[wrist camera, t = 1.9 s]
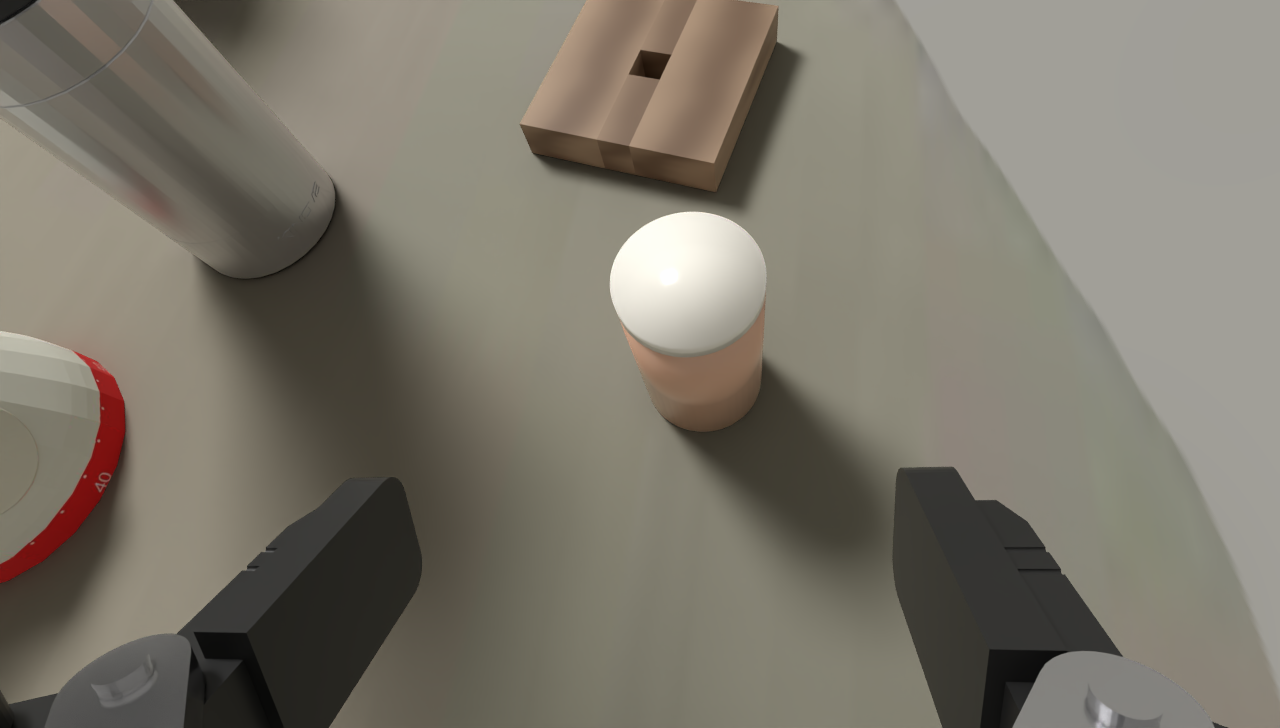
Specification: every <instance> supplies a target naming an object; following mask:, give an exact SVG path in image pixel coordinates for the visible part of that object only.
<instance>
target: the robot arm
mask: <svg viewBox="0 0 1280 728" xmlns="http://www.w3.org/2000/svg"><path fill="white" fill-rule="evenodd" d="M0 118H1V119H2V120H4V121H5V122H6V123H8V124H9V125H11V126H12V127H14V128H15V129H16V130H18V131H19V132H21V133H22V134H23V135H25V136H26V137H28V138H29V139H31V140H32V141H33V142H35V143H36V144H38V145H39V146H40V147H42V148H43V149H45V150H46V151H48V152H49V153H50V154H52V155H53V156H55V157H56V158H57V159H59V160H60V161H62V162H63V163H65V164H66V165H67V166H69V167H70V168H72V169H73V170H75V171H76V172H77V173H79V174H80V175H82V176H83V177H84V178H86V179H87V180H89V181H90V182H92V183H93V184H94V185H96V186H97V187H99V188H100V189H101V190H103V191H104V192H106V193H107V194H109V195H110V196H111V197H113V198H114V199H116V200H117V201H118V202H120V203H121V204H123V205H124V206H126V207H127V208H128V209H130V210H131V211H133V212H134V213H135V214H137V215H138V216H140V217H141V218H143V219H144V220H145V221H147V222H148V223H150V224H151V225H153V226H154V227H155V228H157V229H158V230H160V231H161V232H162V233H164V234H165V235H166V236H168V237H169V238H170V239H172V240H173V241H175V242H176V243H178V244H179V245H181V246H182V247H183V248H185V249H186V250H188V251H189V252H191V253H192V254H193V255H195V256H196V257H198V258H199V259H201V260H202V261H204V262H205V263H206V264H208V265H209V266H211V267H212V268H214V269H215V270H217V271H218V272H219V273H221V274H224V275H227V276H230V277H233V278H243V279H248V278H256V277H262V276H266V275H269V274H272V273H275V272H277V271H279V270H281V269H283V268H285V267H287V266H289V265H291V264H293V263H294V262H295V261H297V260H298V259H300V258H301V257H302V256H304V255H305V254H306V253H307V252H308V251H309V250H310V249H311V248H312V247H313V246H314V245H315V244H316V243H317V241H318V240H319V239H320V237H321V236H322V235H323V233H324V232H325V230H326V228H327V226H328V224H329V222H330V220H331V218H332V214H333V211H334V207H335V190H334V186H333V182H332V181H331V179H330V177H329V175H328V174H327V172H326V171H325V170H324V169H323V168H322V167H321V166H320V165H319V164H318V162H317V161H316V160H315V159H314V158H313V157H312V156H311V155H310V153H309V152H308V151H307V150H306V149H305V148H304V147H303V146H302V144H301V143H300V142H299V141H298V140H297V139H296V138H295V137H294V135H293V134H292V133H291V132H290V131H289V129H288V128H287V127H286V126H285V125H284V124H283V123H282V122H281V121H280V119H279V118H278V117H277V116H276V115H275V114H274V113H273V112H272V110H271V109H270V108H269V107H268V106H267V105H266V104H265V103H264V101H263V100H262V99H261V98H260V97H259V96H258V95H257V94H256V92H255V91H254V90H253V89H252V88H251V87H250V86H249V85H248V83H247V82H246V81H245V80H244V79H243V78H242V77H241V76H240V75H239V73H238V72H237V71H236V70H235V69H234V68H233V67H232V66H231V64H230V63H229V62H228V61H227V60H226V59H225V58H224V57H223V55H222V54H221V53H220V52H219V51H218V50H217V49H216V48H215V46H214V45H213V44H212V43H211V42H210V41H209V40H208V39H207V38H206V36H205V35H204V34H203V33H202V32H201V31H200V30H199V29H198V27H197V26H196V25H195V24H194V23H193V22H192V21H191V20H190V18H189V17H188V16H187V15H186V14H185V13H184V12H183V11H182V9H181V8H180V7H179V6H178V5H177V4H176V3H175V2H174V0H0ZM421 571H422V557H421V551H420V547H419V544H418V540H417V536H416V532H415V528H414V525H413V521H412V517H411V513H410V509H409V505H408V502H407V498H406V494H405V491H404V487H403V485H402V484H401V482H400V481H399V480H398V479H397V478H394V477H377V478H350V479H348V480H346V481H345V482H344V483H343V484H342V485H341V486H340V487H339V488H338V489H337V490H336V491H335V492H334V493H333V494H332V495H331V496H330V497H329V498H328V499H327V500H326V501H325V502H324V503H323V504H322V505H321V506H320V507H319V508H317V509H316V510H314V511H313V512H311V513H309V514H308V515H306V516H304V517H303V518H301V519H299V520H298V521H296V522H295V523H293V524H291V525H290V526H288V527H287V528H286V529H285V530H284V531H283V532H282V533H281V534H280V535H279V536H278V537H277V538H276V539H274V540H273V541H272V542H271V543H270V544H269V545H268V546H267V547H266V551H265V552H261V553H260V554H259V555H258V556H257V557H256V558H255V559H254V560H253V561H252V562H251V563H250V564H249V565H248V566H247V570H246V571H241V572H240V573H239V574H238V575H237V576H236V577H235V578H234V579H233V580H232V581H231V582H230V583H229V584H228V585H227V586H226V587H225V588H224V589H223V590H222V591H221V592H220V593H219V594H218V595H216V596H215V597H214V598H213V599H212V600H211V601H210V602H209V603H208V604H207V605H206V606H205V607H204V608H203V609H202V610H201V611H200V612H199V613H198V614H197V615H196V616H195V617H194V618H193V619H192V620H191V621H190V622H188V623H187V624H186V625H185V626H184V627H183V628H182V629H181V630H180V631H179V632H178V633H177V634H158V635H152V636H148V637H144V638H141V639H138V640H135V641H132V642H129V643H127V644H124V645H122V646H120V647H118V648H116V649H114V650H112V651H110V652H108V653H106V654H104V655H103V656H101V657H99V658H97V659H96V660H94V661H93V662H91V663H90V664H88V665H87V666H86V667H84V668H83V669H82V670H81V671H79V672H78V673H77V674H76V675H75V676H74V677H72V678H71V679H70V680H69V681H68V682H67V683H66V684H65V686H64V687H63V688H62V689H61V690H60V692H59V693H57V694H53V695H48V696H44V697H40V698H35V699H31V700H26V701H22V702H18V703H13V704H8V703H7V701H6V699H5V697H4V696H3V694H2V692H1V691H0V728H329V726H330V725H331V723H332V722H333V720H334V719H335V717H336V715H337V714H338V712H339V711H340V709H341V708H342V706H343V705H344V703H345V701H346V700H347V698H348V697H349V695H350V694H351V692H352V690H353V689H354V687H355V686H356V684H357V683H358V681H359V679H360V678H361V676H362V675H363V673H364V672H365V670H366V669H367V667H368V665H369V664H370V662H371V661H372V659H373V658H374V656H375V654H376V653H377V651H378V650H379V648H380V647H381V645H382V643H383V642H384V640H385V639H386V637H387V636H388V634H389V633H390V631H391V629H392V628H393V626H394V625H395V623H396V622H397V620H398V618H399V617H400V615H401V614H402V612H403V611H404V609H405V607H406V606H407V604H408V603H409V601H410V600H411V598H412V596H413V595H414V593H415V591H416V590H417V587H418V585H419V581H420V577H421ZM893 572H894V580H895V586H896V591H897V595H898V598H899V601H900V604H901V607H902V610H903V613H904V616H905V619H906V622H907V625H908V628H909V630H910V633H911V636H912V639H913V642H914V645H915V648H916V651H917V654H918V657H919V660H920V663H921V666H922V669H923V672H924V675H925V678H926V680H927V683H928V686H929V689H930V692H931V695H932V698H933V701H934V704H935V707H936V710H937V713H938V716H939V719H940V722H941V725H942V727H943V728H1228V727H1224V726H1222V725H1219V724H1216V723H1214V722H1212V721H1211V719H1210V717H1209V716H1208V714H1207V713H1206V712H1205V710H1204V709H1203V708H1202V706H1201V705H1200V704H1199V703H1198V702H1197V701H1196V700H1195V699H1194V698H1193V697H1192V696H1191V695H1190V694H1189V693H1188V692H1186V691H1185V690H1184V689H1183V688H1182V687H1180V686H1179V685H1178V684H1176V683H1175V682H1173V681H1172V680H1170V679H1169V678H1167V677H1166V676H1164V675H1162V674H1161V673H1159V672H1157V671H1155V670H1153V669H1151V668H1149V667H1147V666H1145V665H1143V664H1140V663H1138V662H1135V661H1133V660H1130V659H1127V658H1124V657H1123V656H1122V655H1121V653H1120V652H1119V650H1118V649H1117V648H1116V646H1115V645H1114V643H1113V642H1112V641H1111V639H1110V638H1109V636H1108V635H1107V634H1106V632H1105V631H1104V629H1103V628H1102V626H1101V625H1100V624H1099V622H1098V621H1097V619H1096V618H1095V617H1094V615H1093V614H1092V612H1091V611H1090V610H1089V608H1088V607H1087V605H1086V604H1085V602H1084V601H1083V600H1082V598H1081V597H1080V595H1079V594H1078V593H1077V591H1076V590H1075V588H1074V587H1073V586H1072V584H1071V583H1070V581H1069V580H1068V578H1067V577H1066V576H1065V575H1062V574H1061V569H1060V567H1059V566H1058V564H1057V563H1056V562H1055V560H1054V559H1053V557H1052V556H1051V554H1050V553H1049V552H1046V550H1045V546H1044V545H1043V543H1042V542H1041V540H1040V539H1039V537H1038V536H1037V535H1036V533H1035V532H1034V530H1033V529H1032V528H1031V526H1030V525H1029V523H1028V522H1027V521H1026V520H1024V519H1023V518H1021V517H1020V516H1018V515H1017V514H1016V513H1014V512H1013V511H1011V510H1010V509H1008V508H1007V507H1005V506H1004V505H1003V504H1001V503H1000V502H998V501H997V500H975V499H974V498H973V496H972V495H971V493H970V491H969V490H968V488H967V486H966V485H965V483H964V482H963V480H962V478H961V477H960V475H959V473H958V472H957V470H956V469H955V468H954V467H916V468H900V469H899V470H898V473H897V478H896V492H895V513H894V534H893Z"/></svg>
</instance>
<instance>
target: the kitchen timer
mask: <svg viewBox="0 0 1280 728" xmlns="http://www.w3.org/2000/svg"><path fill="white" fill-rule="evenodd" d="M124 435H125V410H124V400H123V397H122V395H121V393H120V390H119V388H118V385H117V383H116V381H115V378H114V377H113V376H112V375H111V374H110V373H109V372H108V371H107V370H106V369H105V368H104V367H102V366H101V365H100V364H99V363H98V362H97V361H95V360H93V359H90V358H88V357H86V356H84V355H81V354H79V353H77V352H74V351H72V350H69V349H66V348H63V347H61V346H58V345H55V344H52V343H49V342H46V341H43V340H40V339H37V338H33V337H29V336H25V335H21V334H15V333H9V332H3V331H0V583H2V582H5V581H9V580H11V579H12V578H14V577H16V576H18V575H19V574H21V573H23V572H25V571H26V570H28V569H30V568H32V567H33V566H35V565H37V564H39V563H40V562H42V561H44V560H45V559H46V558H47V557H48V556H49V555H50V554H51V553H53V552H54V551H55V550H56V549H57V548H58V547H59V546H61V545H62V544H63V543H64V542H65V541H66V540H67V539H68V538H70V537H71V536H72V535H73V534H74V533H75V532H76V531H77V529H78V528H79V527H80V525H81V524H82V523H83V521H84V520H85V519H86V518H87V516H88V515H89V514H90V512H91V511H92V510H93V508H94V507H95V506H96V504H97V503H98V502H99V501H100V499H101V497H102V495H103V493H104V491H105V489H106V487H107V485H108V483H109V481H110V479H111V477H112V475H113V473H114V471H115V469H116V467H117V464H118V460H119V456H120V451H121V447H122V443H123V439H124Z"/></svg>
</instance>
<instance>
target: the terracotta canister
mask: <svg viewBox="0 0 1280 728" xmlns="http://www.w3.org/2000/svg"><path fill="white" fill-rule="evenodd" d="M610 292H611V297H612V301H613V304H614V307H615V309H616V312H617V314H618V317H619V319H620V322H621V324H622V327H623V330H624V332H625V335H626V337H627V340H628V342H629V345H630V347H631V350H632V352H633V355H634V357H635V360H636V362H637V365H638V368H639V370H640V373H641V375H642V378H643V380H644V383H645V385H646V388H647V390H648V393H649V395H650V398H651V400H652V402H653V404H654V406H655V408H656V409H657V410H658V412H659V413H660V414H661V415H662V416H663V417H664V418H665V419H667V420H668V421H669V422H671V423H672V424H674V425H676V426H678V427H681V428H683V429H686V430H690V431H697V432H709V431H716V430H719V429H723V428H725V427H728V426H730V425H732V424H734V423H736V422H737V421H738V420H740V419H741V418H742V417H743V416H745V415H746V414H747V413H748V411H749V410H750V409H751V408H752V406H753V405H754V403H755V401H756V399H757V397H758V394H759V391H760V387H761V378H762V358H763V338H764V317H765V297H766V266H765V261H764V258H763V255H762V252H761V250H760V249H759V247H758V245H757V243H756V242H755V241H754V239H753V238H752V237H751V236H750V235H749V234H748V233H747V232H746V231H745V230H744V229H743V228H741V227H740V226H739V225H737V224H736V223H734V222H732V221H730V220H728V219H726V218H724V217H721V216H718V215H714V214H710V213H704V212H682V213H676V214H671V215H667V216H664V217H661V218H659V219H656V220H654V221H652V222H650V223H648V224H647V225H645V226H644V227H642V228H641V229H639V230H638V231H637V232H636V233H634V234H633V235H632V236H631V237H630V238H629V239H628V240H627V241H626V243H625V244H624V245H623V247H622V248H621V249H620V251H619V253H618V255H617V257H616V259H615V261H614V264H613V267H612V271H611V276H610Z"/></svg>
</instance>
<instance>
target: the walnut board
mask: <svg viewBox="0 0 1280 728" xmlns="http://www.w3.org/2000/svg"><path fill="white" fill-rule="evenodd" d="M777 26H778V6H775V5H767V4H760V3H752V2H744V1H737V0H587V1H586V2H585V4H584V6H583V8H582V10H581V12H580V13H579V15H578V17H577V19H576V21H575V23H574V25H573V26H572V28H571V30H570V32H569V34H568V36H567V37H566V39H565V41H564V43H563V45H562V47H561V49H560V50H559V52H558V54H557V56H556V58H555V60H554V61H553V63H552V65H551V67H550V69H549V71H548V73H547V74H546V76H545V78H544V80H543V82H542V84H541V85H540V87H539V89H538V91H537V93H536V95H535V96H534V98H533V100H532V102H531V104H530V106H529V108H528V109H527V111H526V113H525V115H524V117H523V119H522V120H521V122H520V126H521V128H522V130H523V133H524V135H525V137H526V139H527V142H528V144H529V146H530V149H531V151H532V153H536V154H540V155H545V156H550V157H554V158H559V159H563V160H568V161H573V162H577V163H582V164H587V165H591V166H596V167H601V168H605V169H610V170H615V171H619V172H624V173H629V174H633V175H638V176H643V177H647V178H652V179H657V180H661V181H666V182H671V183H675V184H680V185H684V186H689V187H694V188H698V189H703V190H708V191H712V192H716V191H717V189H718V186H719V184H720V181H721V179H722V177H723V174H724V172H725V169H726V167H727V164H728V162H729V159H730V157H731V154H732V152H733V149H734V147H735V144H736V142H737V139H738V137H739V134H740V132H741V129H742V127H743V124H744V122H745V119H746V117H747V114H748V112H749V109H750V107H751V104H752V102H753V99H754V97H755V94H756V92H757V89H758V87H759V84H760V82H761V79H762V77H763V74H764V72H765V69H766V67H767V64H768V62H769V59H770V57H771V54H772V52H773V49H774V47H775V44H776V42H777Z"/></svg>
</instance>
